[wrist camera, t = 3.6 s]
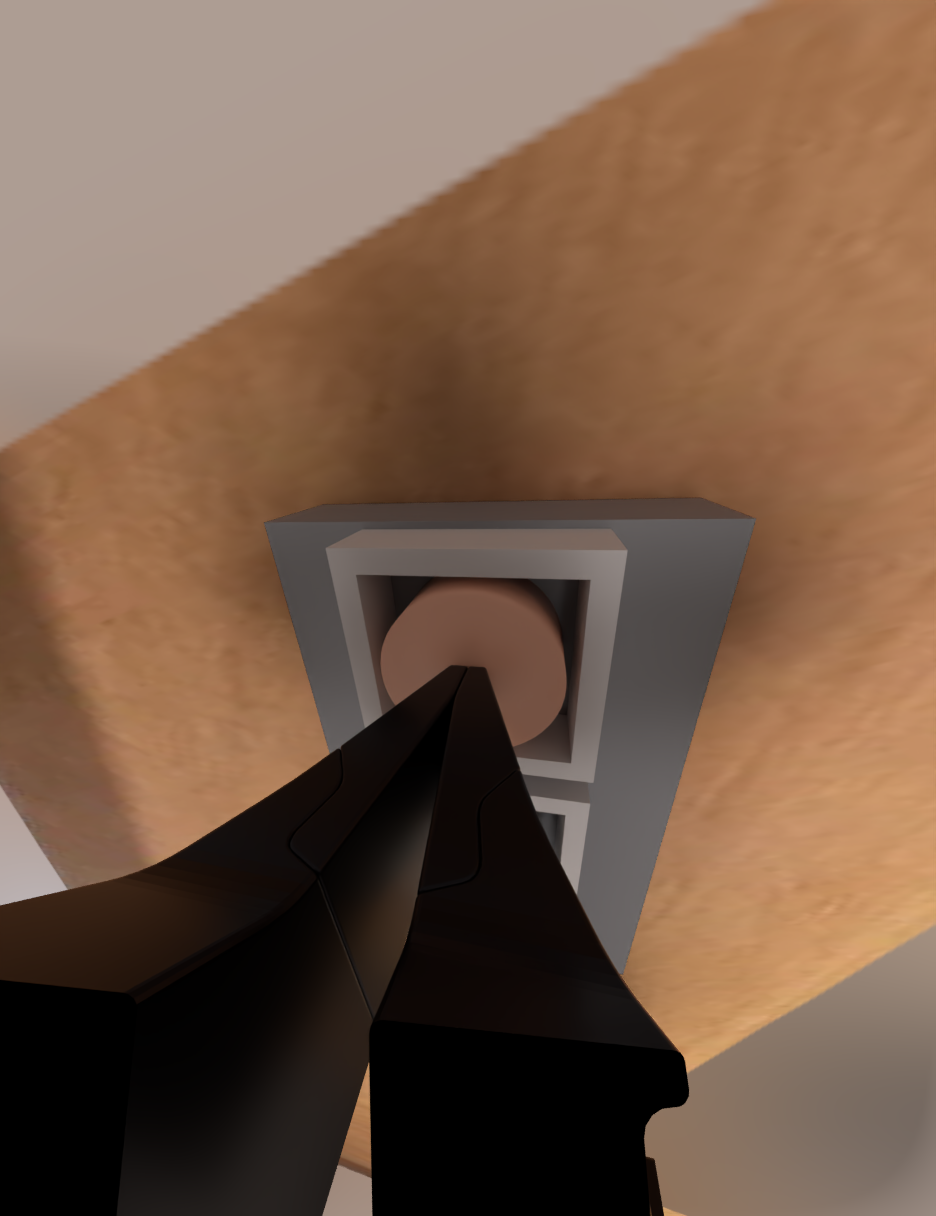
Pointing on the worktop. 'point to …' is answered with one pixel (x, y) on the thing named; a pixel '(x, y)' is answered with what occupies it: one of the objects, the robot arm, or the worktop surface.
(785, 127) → the worktop surface
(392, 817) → the robot arm
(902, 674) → the worktop surface
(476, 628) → the terracotta button
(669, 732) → the grey button panel
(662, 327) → the worktop surface
